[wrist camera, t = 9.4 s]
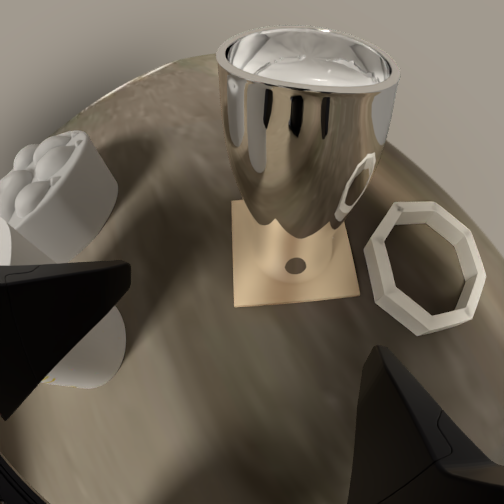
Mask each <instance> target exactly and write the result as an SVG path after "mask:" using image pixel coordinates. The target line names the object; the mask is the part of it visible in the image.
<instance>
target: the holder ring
mask: <svg viewBox="0 0 504 504" xmlns="http://www.w3.org/2000/svg"><path fill="white" fill-rule="evenodd" d="M423 223H426V224H427V225H428V226H430V227H431V228H432V229H434V230H435V231H436V232H437V233H439V234H440V235H441V236H442V237H444V238H445V239H446V240H447V241H449V242H450V243H451V244H452V245H453V246H454V247H455V250H456V253H457V256H458V259H459V262H460V265H461V269H462V272H463V275H464V279H465V285H464V287H463V290H462V293H461V295H460V298H459V300H458V303H457V305H456V308H455V310H454V311H450V312H446V313H442V314H438V315H434V316H432V315H430V314H429V313H428V312H427V311H425V310H424V309H423V308H422V307H421V306H419V305H418V304H417V303H416V302H414V301H413V300H412V299H411V298H409V297H408V296H407V295H406V294H404V293H403V292H402V291H400V290H399V289H398V288H397V287H396V286H395V282H394V277H393V273H392V269H391V265H390V261H389V258H388V254H387V250H386V247H385V243H384V241H385V239H386V238H387V236H388V234H389V233H390V231H391V230H392V228H393V226H394V225H403V224H423ZM363 251H364V255H365V259H366V263H367V267H368V272H369V276H370V281H371V286H372V291H373V296H374V301H375V303H376V304H377V305H378V306H380V307H381V308H382V309H383V310H385V311H386V312H387V313H389V314H390V315H391V316H392V317H394V318H395V319H396V320H397V321H399V322H400V323H401V324H402V325H404V326H405V327H406V328H408V329H409V330H410V331H411V332H413V333H414V334H415V335H416V336H420V335H424V334H428V333H432V332H436V331H440V330H444V329H447V328H451V327H455V326H458V325H460V324H462V323H465V322H467V321H469V320H471V319H472V318H473V315H474V312H475V310H476V307H477V304H478V301H479V298H480V295H481V292H482V289H483V286H484V282H485V279H486V274H485V270H484V267H483V264H482V261H481V258H480V255H479V252H478V249H477V246H476V244H475V241H474V238H473V236H472V233H471V231H470V230H469V229H468V228H467V227H466V226H464V225H463V224H462V223H461V222H460V221H458V220H457V219H456V218H455V217H454V216H452V215H451V214H450V213H449V212H447V211H446V210H445V209H444V208H442V207H441V206H440V205H438V204H437V203H436V202H394V203H393V205H392V206H391V208H390V209H389V211H388V212H387V214H386V216H385V217H384V219H383V220H382V222H381V223H380V225H379V226H378V228H377V229H376V230H375V232H374V233H373V235H372V236H371V238H370V239H369V241H368V243H367V244H366V246H365V248H364V249H363Z"/></svg>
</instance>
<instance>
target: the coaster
mask: <svg viewBox="0 0 504 504" xmlns="http://www.w3.org/2000/svg"><path fill="white" fill-rule="evenodd" d="M254 229H255V226H254V222H253V220H252V217H251V215H250V213H249V211H248V209H247V207H246V205H245V202H244V200H234V201H232V246H233V281H234V306H235V307H249V306H263V305H276V304H288V303H299V302H309V301H319V300H329V299H338V298H346V297H355V296H359V295H360V291H359V286H358V281H357V276H356V271H355V266H354V261H353V257H352V252H351V248H350V244H349V239H348V235H347V231H346V227H345V223H344V222H343V223H342V224H341V225H340V227H339V228H338V229H337V231H336V232H335V234H334V236H333V248H332V256H331V259H330V262H329V264H328V266H327V267H326V269H325V270H324V271H323V272H322V273H321V274H320V275H319V276H317V277H316V278H314V279H312V280H310V281H308V282H305V283H300V284H286V283H281V282H278V281H275V280H273V279H271V278H270V277H268V276H267V275H265V274H264V273H263V272H262V271H261V270H260V269H259V267H258V266H257V264H256V263H255V261H254V258H253V255H252V249H251V244H252V237H253V233H254Z"/></svg>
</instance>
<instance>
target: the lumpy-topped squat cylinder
mask: <svg viewBox="0 0 504 504" xmlns="http://www.w3.org/2000/svg"><path fill="white" fill-rule="evenodd" d="M117 194H118V184H117V182H116V180H115V178H114V177H113V175H112V174H111V172H110V170H109V169H108V167H107V166H106V164H105V162H104V161H103V159H102V157H101V156H100V154H99V153H98V151H97V149H96V148H95V146H94V144H93V143H92V141H91V139H90V137H89V136H88V134H87V133H86V132H83V131H69V132H65V133H62V134H59V135H57V136H52V137H49V138H47V139H46V140H44V141H43V142H42V143H41V144H32V145H28V146H26V147H24V148H23V149H21V150H20V152H19V153H18V154H17V156H16V158H15V160H14V168H13V169H12V170H11V171H10V172H9V173H8V174H7V175H6V176H5V177H4V178H2V179H1V180H0V217H1V218H3V219H4V220H5V221H6V222H7V223H8V224H9V225H11V226H12V227H13V228H14V229H15V230H16V231H17V232H19V233H20V234H21V235H22V236H23V237H25V238H26V239H27V240H28V241H29V242H31V243H32V244H33V245H34V246H35V247H37V248H38V249H39V250H40V251H42V252H43V253H44V254H45V255H47V256H48V257H49V258H51V259H52V260H53V261H55V262H56V263H57V264H59V263H68V262H69V261H70V260H72V259H73V258H74V257H75V256H76V255H77V254H79V253H80V252H81V251H82V250H83V249H84V248H85V247H86V246H87V245H88V244H89V243H90V242H91V241H92V240H93V239H94V238H95V237H96V236H97V235H98V233H99V232H100V230H101V229H102V227H103V225H104V224H105V222H106V220H107V219H108V217H109V215H110V213H111V212H112V210H113V207H114V205H115V202H116V199H117Z"/></svg>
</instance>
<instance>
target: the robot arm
mask: <svg viewBox="0 0 504 504" xmlns="http://www.w3.org/2000/svg"><path fill="white" fill-rule="evenodd" d="M130 285H131V266H130V264H129V263H127V262H125V261H122V260H114V261H95V262H77V263H59V264H42V265H0V415H1V417H2V418H3V419H4V420H5V421H6V420H8V419H9V417H10V416H11V415H12V414H13V413H14V412H15V410H16V409H17V408H18V407H19V406H20V405H21V404H22V402H23V401H24V400H25V399H26V398H27V397H28V396H29V395H30V393H31V392H32V391H33V390H34V389H35V388H36V387H37V386H38V384H39V383H40V382H41V381H42V380H43V379H44V378H45V377H46V376H47V375H48V374H49V373H50V371H51V370H52V369H53V368H54V367H55V366H56V365H57V364H58V363H59V362H60V361H61V360H62V359H63V358H64V357H65V356H66V355H67V354H68V353H69V352H70V351H71V350H72V349H73V348H74V347H75V346H76V345H77V344H78V343H79V342H80V341H81V340H82V339H83V338H84V337H85V336H86V335H87V334H88V333H89V332H90V331H91V330H92V329H93V328H94V327H95V326H96V325H97V324H98V323H99V322H100V321H101V320H102V319H103V318H104V317H105V316H106V315H107V314H108V313H109V312H110V310H111V309H112V308H113V307H114V306H115V304H116V303H117V302H118V301H119V300H120V299H121V297H122V296H123V295H124V294H125V293H126V292H127V291H128V289H129V288H130ZM0 501H1V502H2V503H3V504H50V503H49V502H48V501H47V500H45V499H44V498H43V497H42V496H41V495H40V494H39V493H38V492H37V491H36V490H35V489H34V488H33V487H32V486H31V485H30V484H29V483H28V482H27V481H26V480H25V479H24V478H23V477H22V476H21V475H20V474H19V473H18V472H17V471H16V469H15V468H14V467H13V466H12V465H11V464H10V463H9V461H8V460H7V459H6V458H5V457H4V455H3V454H2V453H1V452H0ZM347 504H504V466H502V465H498V464H496V463H494V462H493V461H491V460H490V459H489V458H488V457H487V456H486V455H485V454H484V453H483V452H482V451H481V450H480V449H479V448H478V447H477V446H476V445H475V444H474V443H473V442H472V441H471V440H470V439H469V438H468V437H467V436H466V435H465V434H464V433H463V432H462V431H461V429H460V428H459V427H458V426H457V425H456V424H455V423H454V422H453V421H452V420H451V418H450V417H449V416H448V415H447V414H446V413H445V411H444V410H442V408H441V407H440V406H439V405H438V403H437V402H436V401H435V400H434V399H433V398H432V397H431V395H430V394H429V393H428V392H427V391H426V390H425V389H424V387H423V386H422V385H421V384H420V383H419V382H418V381H417V380H416V379H415V377H414V376H413V375H412V374H411V373H410V372H409V371H408V370H407V368H406V367H405V366H404V365H403V364H402V363H401V362H400V361H399V360H398V359H397V357H396V356H395V355H394V354H393V353H392V352H391V351H390V350H389V349H388V348H387V347H385V346H381V345H375V346H374V347H373V349H372V351H371V353H370V355H369V356H368V358H367V360H366V362H365V364H364V367H363V371H362V379H361V386H360V392H359V399H358V405H357V418H356V434H355V446H354V457H353V466H352V475H351V482H350V489H349V496H348V502H347Z"/></svg>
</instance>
